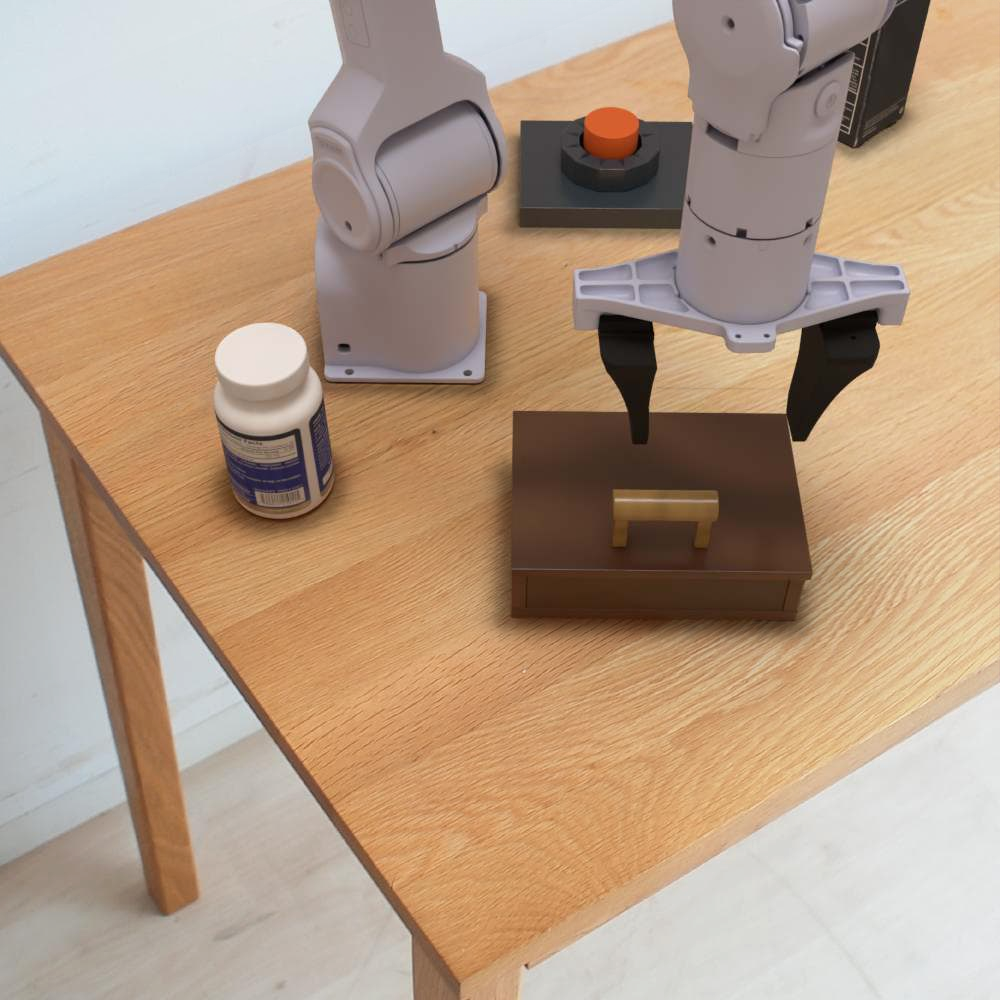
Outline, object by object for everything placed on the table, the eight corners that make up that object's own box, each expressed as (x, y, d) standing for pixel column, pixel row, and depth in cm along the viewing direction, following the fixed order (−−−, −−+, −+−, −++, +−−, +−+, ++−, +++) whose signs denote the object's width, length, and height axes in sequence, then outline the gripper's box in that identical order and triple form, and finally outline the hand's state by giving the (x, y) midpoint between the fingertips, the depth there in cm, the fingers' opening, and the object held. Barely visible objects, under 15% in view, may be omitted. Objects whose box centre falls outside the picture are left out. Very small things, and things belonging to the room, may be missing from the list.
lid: (811, 580, 70) (825, 525, 67) (511, 577, 70) (511, 522, 67) (784, 420, 77) (796, 364, 74) (512, 418, 78) (513, 362, 75)
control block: (519, 228, 95) (520, 184, 93) (520, 140, 102) (520, 97, 99) (701, 230, 95) (707, 186, 93) (690, 142, 102) (695, 98, 99)
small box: (909, 115, 104) (942, -21, 96) (855, 152, 101) (885, 14, 93) (792, 57, 109) (815, -76, 101) (737, 91, 106) (756, -44, 98)
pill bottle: (283, 432, 83) (262, 299, 75) (356, 479, 81) (341, 346, 73) (210, 489, 80) (180, 357, 73) (283, 540, 78) (260, 408, 70)
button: (583, 160, 95) (585, 137, 94) (582, 129, 98) (583, 106, 96) (638, 161, 95) (640, 138, 94) (635, 129, 97) (637, 107, 96)
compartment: (795, 620, 74) (808, 568, 71) (510, 617, 74) (511, 564, 71) (773, 475, 81) (784, 421, 77) (512, 473, 81) (512, 418, 78)
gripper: (585, 262, 57) (572, 492, 67) (951, 256, 57) (883, 486, 67) (574, 156, 62) (563, 387, 72) (912, 151, 62) (854, 381, 72)
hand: (717, 428), depth 70 cm, fingers open, 7 cm apart
